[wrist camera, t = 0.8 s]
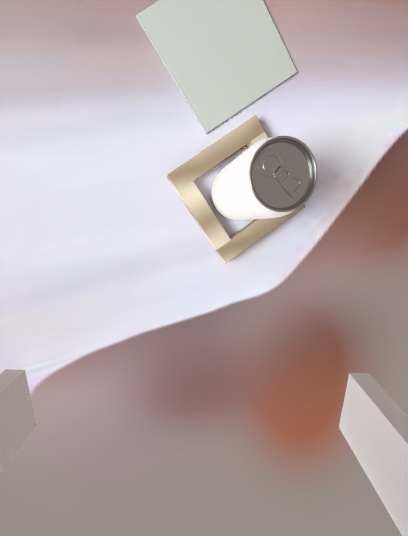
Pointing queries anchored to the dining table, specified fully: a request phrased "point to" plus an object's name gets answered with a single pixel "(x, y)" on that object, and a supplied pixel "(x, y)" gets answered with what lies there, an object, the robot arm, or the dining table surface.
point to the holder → (198, 205)
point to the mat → (218, 53)
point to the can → (266, 180)
